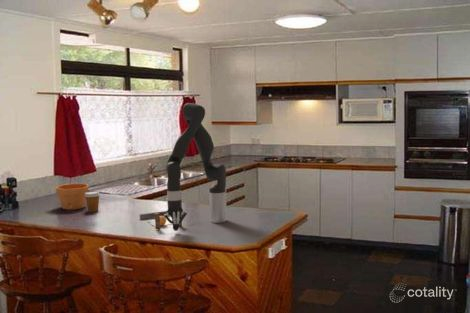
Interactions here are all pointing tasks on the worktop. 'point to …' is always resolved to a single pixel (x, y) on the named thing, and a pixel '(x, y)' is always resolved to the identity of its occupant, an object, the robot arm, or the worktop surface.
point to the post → (157, 221)
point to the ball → (162, 220)
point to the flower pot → (72, 195)
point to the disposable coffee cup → (92, 200)
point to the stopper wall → (152, 214)
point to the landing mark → (167, 222)
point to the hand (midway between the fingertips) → (175, 230)
